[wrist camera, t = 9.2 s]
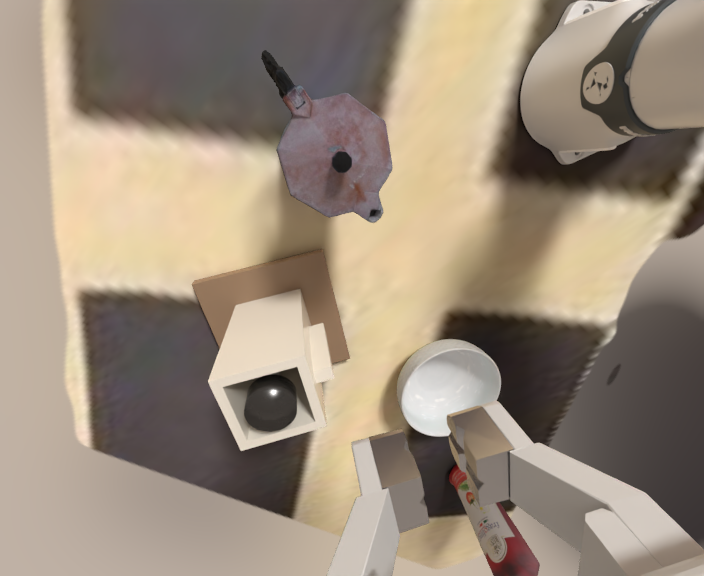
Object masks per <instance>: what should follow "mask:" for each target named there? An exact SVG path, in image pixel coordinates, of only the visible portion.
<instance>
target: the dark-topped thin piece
mask: <svg viewBox="0 0 704 576" xmlns="http://www.w3.org/2000/svg"><path fill="white" fill-rule="evenodd" d="M296 414H297V391H296V387H295V385H294V384H293V382H292V381H291V380H289V379H288V378H286V377H284V376H281V375H280V372H276V373H272V374H269V375H265V376H262V377H260V378H258V379H256V380H255V381H254V382H253V383H252V384H251V385H250V387H249V389H248V392H247V398H246V403H245V409H244V416H245V419H246V421H247V422H248V424H249V425H250V426H252V427H253V428H255V429H257V430H260V431H265V432H272V431H278V430H281V429H283V428H285V427H287V426H288V425H290V424H291V423H292V422H293V420H294V419H295V417H296Z"/></svg>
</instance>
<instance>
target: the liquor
mask: <svg viewBox="0 0 704 576" xmlns="http://www.w3.org/2000/svg"><path fill="white" fill-rule="evenodd" d="M449 481H450V483H451V484H452V485H454V486H455V488H456V491H457V493H458V495H459V497H460V499H461V501H462V504H463V506H464V508H465V510H466V513H467V515H468V517H469V519H470V522H471V524H472V526H473V529H474V531H475V533H476V536H477V538H478V541H479V543H480V546H481V548H482V550H483V552H484V555H485V556H486V559H487V561H488V564H489V566H490V568H491V570H492V573H493V575H494V576H537V575H538V571H539V566H540V565H539V562H538V560H537V559H536V557H535V556H534V554H533V553H532V551H531V550H530V548H529V546H528V545H527V543H526V542H525V540H524V539H523V537H522V535H521V534H520V532H519V531H518V529H517V528H516V526H515V525H514V523H513V522H512V520H511V519H510V517H509V516H508V514H507V513H506V511H505V510H504V508H503V507H502V505H501V504H500V502H497V503H493V504H490V505H486V506H483V507H480V506H479V505H478V503H477V501H476V499H475V497H474V495H473V493H472V491H471V490H470V488H469V486H468V483H467V474H466V473H464V472H463V471H461V470H460V469H459V467H458V465H457V464H456V465H455V466H454V467H453V468H452V471H451V473H450V475H449Z"/></svg>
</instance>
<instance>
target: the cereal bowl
mask: <svg viewBox="0 0 704 576" xmlns="http://www.w3.org/2000/svg"><path fill="white" fill-rule="evenodd" d="M500 389H501V376H500V372H499V369H498V367H497V365H496V364H495V362H494V361H493V360H492V359H491V358H490V357H489V356H488V355H487V354H486V353H485V352H484V351H483V350H481V349H480V348H478V347H477V346H475V345H473V344H471V343H468V342H466V341H462V340H456V339H445V340H439V341H435V342H432V343H430V344H427V345H425V346H424V347H422V348H420V349H419V350H417V351H416V352H415V353H414V354H413V355H412V356H411V357H410V358H409V359H408V360H407V362H406V363H405V365H404V366H403V368H402V370H401V372H400V374H399V378H398V382H397V398H398V403H399V406H400V408H401V411H402V414H403V416H404V418H405V419H406V421H407V422H408V423H409V425H410V426H411V427H413V428H414V429H415V430H417V431H418V432H420V433H423V434H426V435H430V436H439V437H441V436H449V434H450V433H451V431H450V429H449V427H448V425H447V415H448V414H452V413H455V412H458V411H462V410H465V409H468V408H471V407H475V406H480V405H482V404H486V403H489V402H492V401H497V399H498V396H499V393H500Z"/></svg>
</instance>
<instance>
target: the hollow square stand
mask: <svg viewBox="0 0 704 576" xmlns="http://www.w3.org/2000/svg"><path fill="white" fill-rule="evenodd" d="M192 286H193V289H194V291H195V293H196V295H197V298H198V300H199V302H200V305H201V307H202V309H203V311H204V314H205V316H206V318H207V321H208V323H209V325H210V327H211V330H212V332H213V334H214V337H215V339H216V341H217V344H218V346H219V348H220V350H219V353H218V355H217V358H216V361H215V364H214V366H213V369H212V372H211V375H210V377H209V380H208V383H209V385H210V387H211V389H212V391H213V393H214V396H215V398H216V400H217V402H218V404H219V406H220V408H221V410H222V412H223V414H224V416H225V419H226V421H227V423H228V425H229V427H230V429H231V431H232V433H233V435H234V437H235V440H236V442H237V444H238V446H239V448H240V450H241V451H243V450H247V449H250V448H253V447H257V446H260V445H264V444H267V443H271V442H274V441H278V440H281V439H285V438H288V437H292V436H295V435H299V434H302V433H305V432H309V431H312V430H316V429H319V428H323V427H326V426H327V422H326V414H325V406H324V399H323V391H322V383H321V382H323V381H327V380H330V379H334V378H335V377H334V372H333V367H332V363H335V362H339V361H342V360H346V359H350V356H349V352H348V348H347V344H346V340H345V336H344V332H343V328H342V324H341V320H340V316H339V312H338V308H337V304H336V300H335V297H334V293H333V289H332V285H331V281H330V277H329V273H328V269H327V265H326V261H325V257H324V253H323V249H320V250H316V251H312V252H308V253H304V254H300V255H296V256H292V257H288V258H284V259H280V260H276V261H272V262H268V263H264V264H260V265H256V266H252V267H248V268H244V269H240V270H236V271H232V272H228V273H224V274H220V275H216V276H211V277H207V278H203V279H199V280H195V281H194V282H193V284H192ZM276 372H280V375H281V376H284V377H286V378H288V379H289V380H291V381H292V382H293V384H294V385H295V387H296V391H297V414H296V417H295V419H294V420H293V422H292V423H291V424H290V425H288V426H287V427H285V428H283V429H281V430H278V431H272V432H265V431H260V430H257V429H255V428H253V427H252V426H250V425H249V424H248V422H247V421H246V419H245V416H244V409H245V403H246V398H247V392H248V389H249V387H250V385H251V384H252V383H253V382H254V381H255V380H256V379H258V378H260V377H262V376H265V375H269V374H272V373H276Z"/></svg>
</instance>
